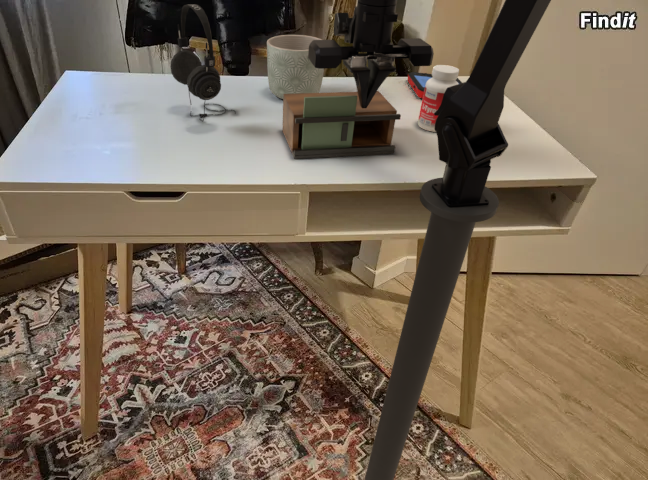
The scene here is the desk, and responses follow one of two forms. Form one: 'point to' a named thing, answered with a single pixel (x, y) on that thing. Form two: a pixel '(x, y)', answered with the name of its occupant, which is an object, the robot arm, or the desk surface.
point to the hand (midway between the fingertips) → (363, 107)
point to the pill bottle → (436, 94)
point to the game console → (420, 82)
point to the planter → (292, 66)
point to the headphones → (196, 63)
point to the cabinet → (369, 122)
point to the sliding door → (328, 131)
